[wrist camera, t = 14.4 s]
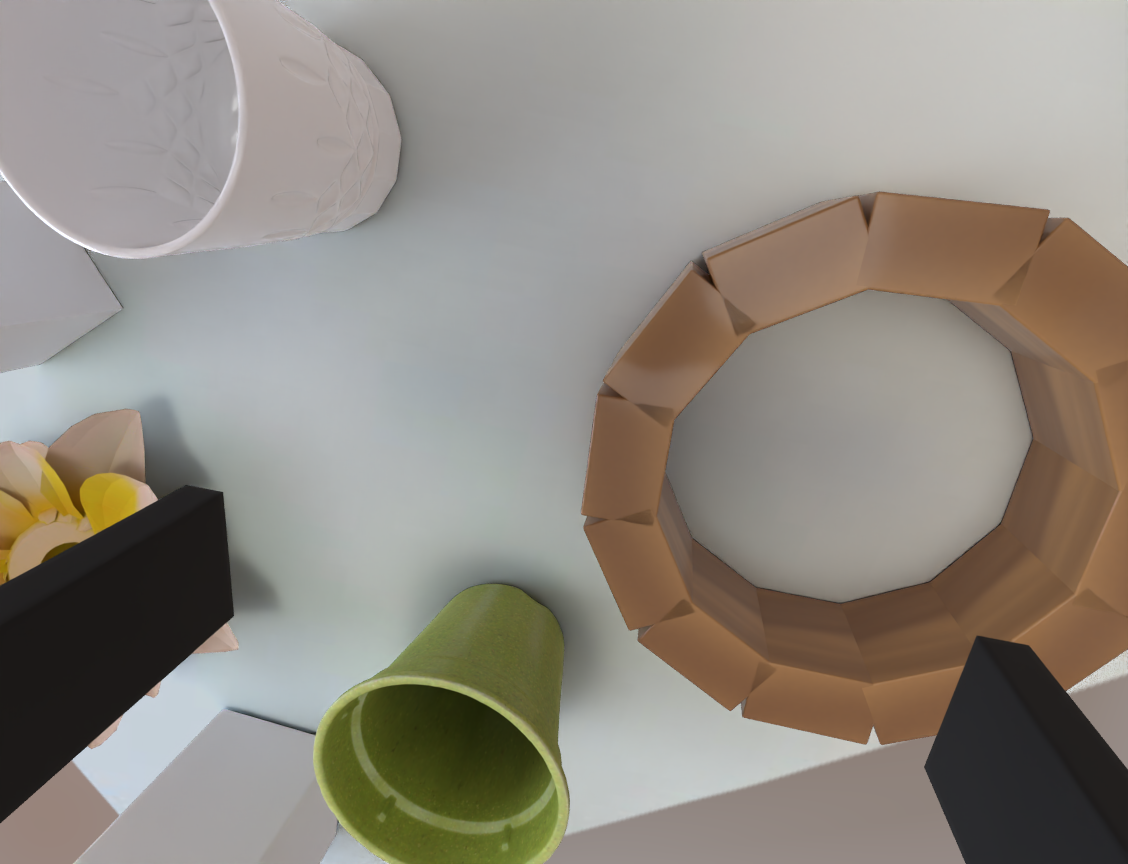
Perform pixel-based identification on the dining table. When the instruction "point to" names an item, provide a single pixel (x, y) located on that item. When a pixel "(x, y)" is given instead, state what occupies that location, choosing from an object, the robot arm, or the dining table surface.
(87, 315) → the white cube
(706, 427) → the dining table surface
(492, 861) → the plant pot
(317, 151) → the white cup
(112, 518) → the decorative flower
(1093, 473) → the ring
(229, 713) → the milk carton
